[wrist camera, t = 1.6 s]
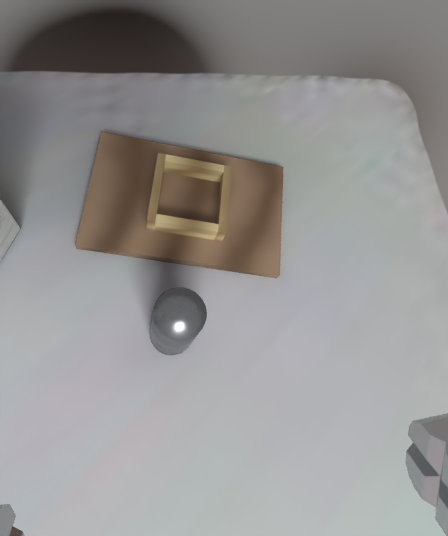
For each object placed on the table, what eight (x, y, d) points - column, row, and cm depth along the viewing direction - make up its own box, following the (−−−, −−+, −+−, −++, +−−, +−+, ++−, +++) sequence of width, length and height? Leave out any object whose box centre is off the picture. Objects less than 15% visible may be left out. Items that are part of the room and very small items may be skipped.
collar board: (76, 248, 39) (72, 235, 36) (102, 137, 44) (99, 118, 41) (276, 278, 42) (286, 268, 39) (280, 171, 47) (289, 156, 44)
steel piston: (146, 352, 37) (149, 336, 30) (153, 309, 38) (157, 284, 31) (190, 357, 38) (203, 342, 30) (195, 315, 39) (208, 291, 32)
